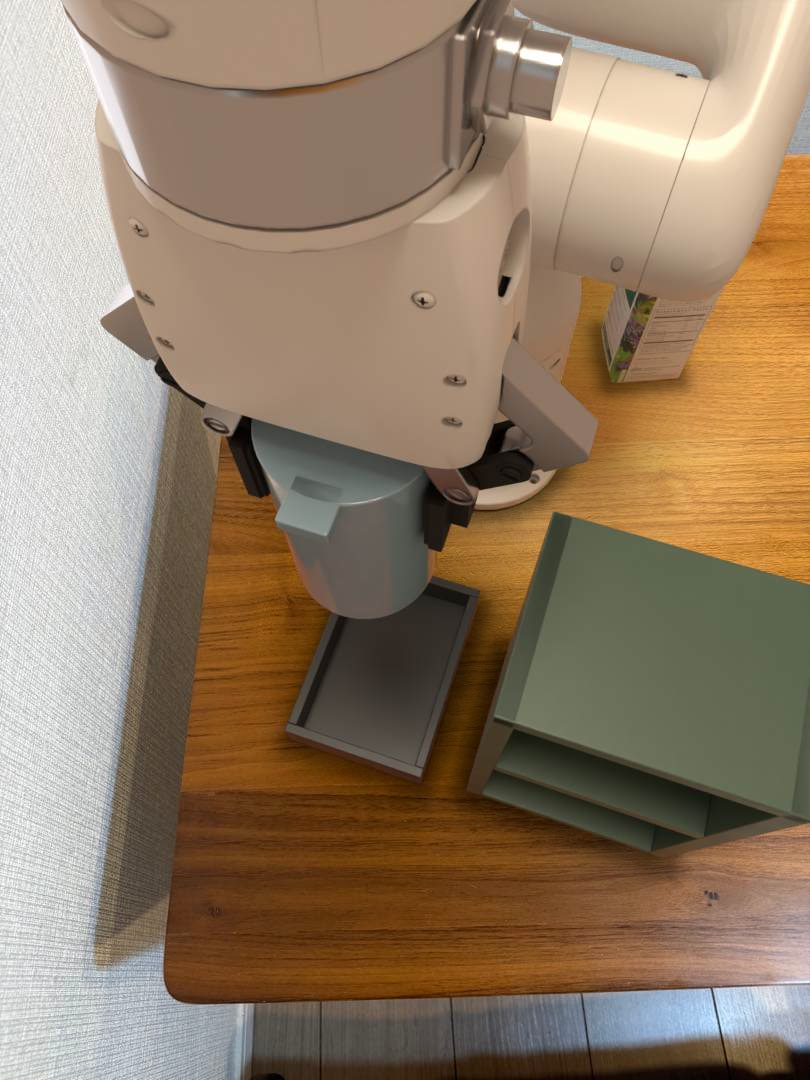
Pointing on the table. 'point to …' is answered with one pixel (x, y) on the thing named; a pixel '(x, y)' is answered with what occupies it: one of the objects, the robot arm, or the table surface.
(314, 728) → the tray
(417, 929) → the table surface
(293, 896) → the table surface
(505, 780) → the shelf
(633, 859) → the table surface
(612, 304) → the syrup box
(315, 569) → the jug
